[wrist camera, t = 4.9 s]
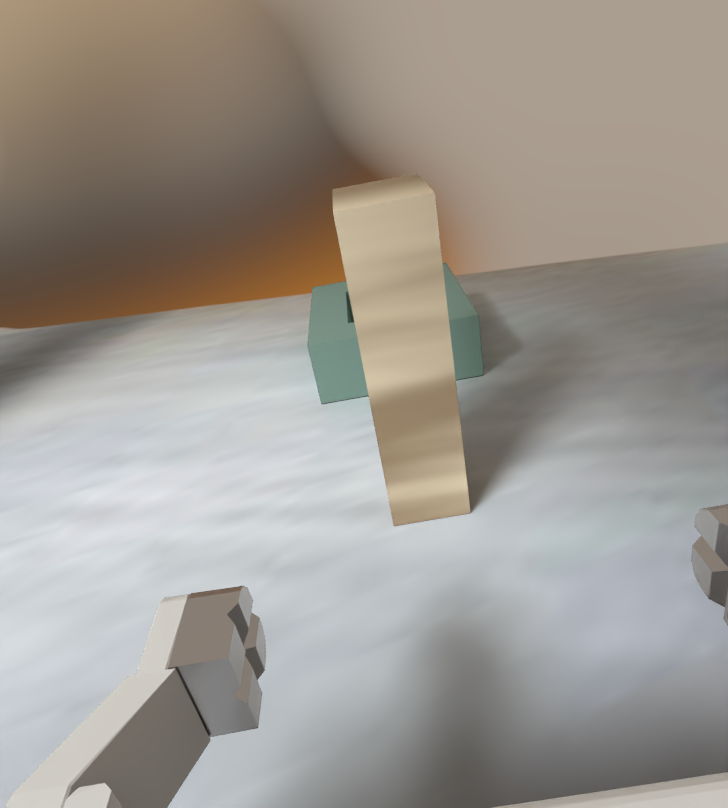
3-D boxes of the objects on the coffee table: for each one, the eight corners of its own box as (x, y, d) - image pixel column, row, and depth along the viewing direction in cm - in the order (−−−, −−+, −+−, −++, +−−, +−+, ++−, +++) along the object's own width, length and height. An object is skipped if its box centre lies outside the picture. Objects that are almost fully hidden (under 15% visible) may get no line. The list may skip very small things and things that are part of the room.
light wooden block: (470, 512, 23) (434, 192, 18) (393, 525, 23) (333, 212, 18) (452, 455, 27) (417, 173, 21) (385, 467, 27) (332, 189, 21)
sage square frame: (483, 374, 33) (478, 314, 31) (321, 403, 33) (307, 346, 31) (451, 312, 42) (445, 262, 40) (323, 335, 42) (312, 287, 40)
